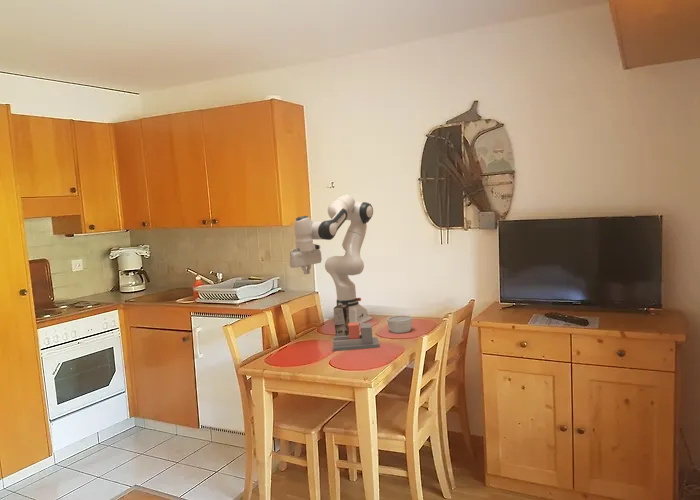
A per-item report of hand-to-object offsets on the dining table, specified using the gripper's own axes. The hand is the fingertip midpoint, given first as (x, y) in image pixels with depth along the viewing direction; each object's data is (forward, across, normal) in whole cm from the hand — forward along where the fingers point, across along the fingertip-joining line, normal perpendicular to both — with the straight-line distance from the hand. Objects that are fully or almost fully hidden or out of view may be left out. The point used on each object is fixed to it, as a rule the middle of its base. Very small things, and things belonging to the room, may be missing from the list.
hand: (306, 274), depth 287 cm
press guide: (+34, -1, -31) cm, 46 cm away
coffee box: (+34, +10, -13) cm, 38 cm away
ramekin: (+34, +32, -34) cm, 58 cm away
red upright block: (+32, -1, -31) cm, 45 cm away
